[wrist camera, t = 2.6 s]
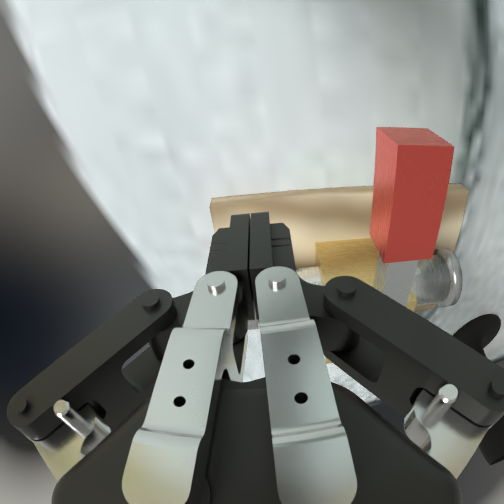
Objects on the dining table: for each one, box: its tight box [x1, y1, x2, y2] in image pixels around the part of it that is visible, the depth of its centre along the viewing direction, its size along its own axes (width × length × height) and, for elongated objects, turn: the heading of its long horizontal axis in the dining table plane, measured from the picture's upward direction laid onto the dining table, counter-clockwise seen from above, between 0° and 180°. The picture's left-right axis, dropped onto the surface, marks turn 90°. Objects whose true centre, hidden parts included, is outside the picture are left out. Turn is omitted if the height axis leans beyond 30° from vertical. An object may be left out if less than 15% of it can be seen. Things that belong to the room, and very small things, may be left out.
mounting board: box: [210, 184, 469, 311], centre depth 30 cm, size 15×23×2 cm, turn 96°
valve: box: [248, 238, 462, 364], centre depth 26 cm, size 6×19×8 cm, turn 96°
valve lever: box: [369, 127, 454, 307], centre depth 17 cm, size 17×3×3 cm, turn 6°
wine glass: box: [453, 314, 504, 465], centre depth 32 cm, size 10×10×20 cm
